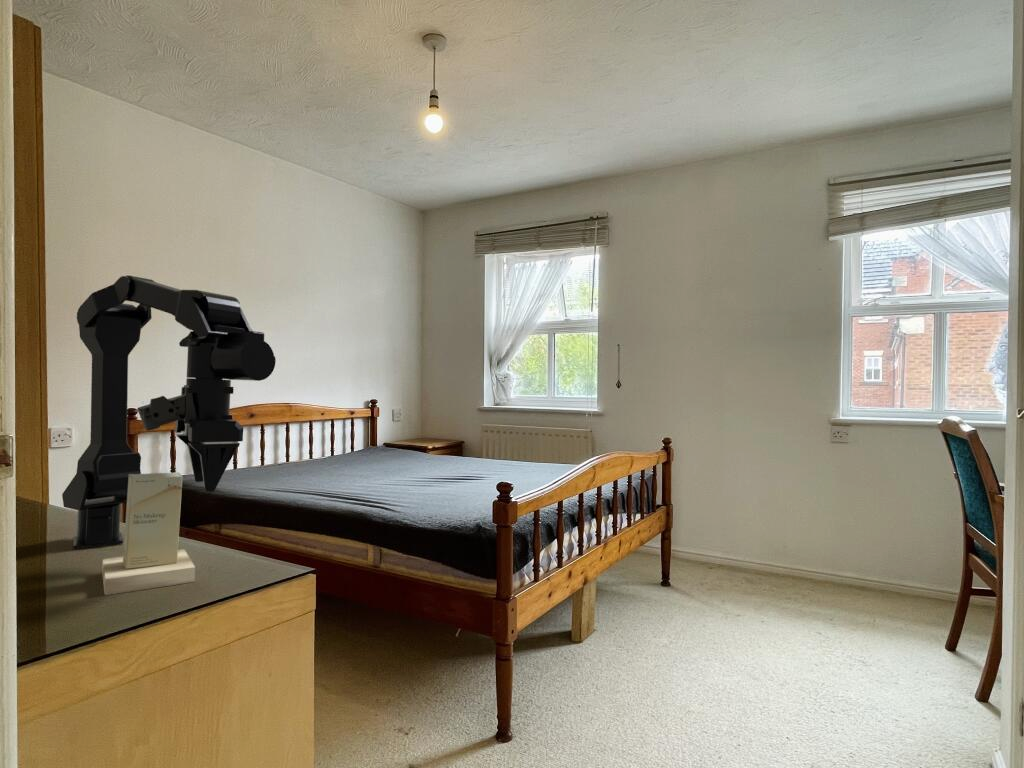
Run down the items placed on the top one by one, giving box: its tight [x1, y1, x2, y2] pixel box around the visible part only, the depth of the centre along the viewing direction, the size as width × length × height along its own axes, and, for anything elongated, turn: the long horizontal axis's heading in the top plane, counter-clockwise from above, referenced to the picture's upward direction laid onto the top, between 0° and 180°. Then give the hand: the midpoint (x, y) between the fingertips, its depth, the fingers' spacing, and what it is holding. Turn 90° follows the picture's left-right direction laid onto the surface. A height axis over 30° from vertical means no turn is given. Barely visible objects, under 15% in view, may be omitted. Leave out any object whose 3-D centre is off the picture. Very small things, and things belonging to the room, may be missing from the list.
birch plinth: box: [101, 548, 196, 596], centre depth 79 cm, size 10×10×2 cm
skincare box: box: [122, 471, 184, 569], centre depth 79 cm, size 6×4×12 cm
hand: (204, 486), depth 83 cm, fingers open, 9 cm apart
